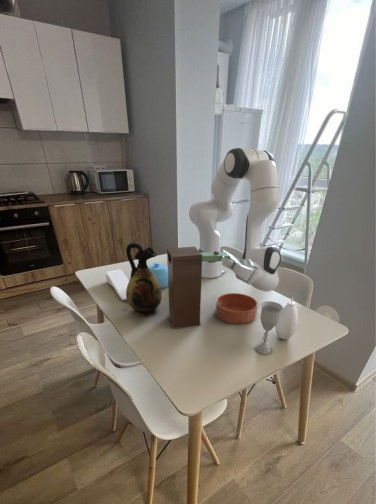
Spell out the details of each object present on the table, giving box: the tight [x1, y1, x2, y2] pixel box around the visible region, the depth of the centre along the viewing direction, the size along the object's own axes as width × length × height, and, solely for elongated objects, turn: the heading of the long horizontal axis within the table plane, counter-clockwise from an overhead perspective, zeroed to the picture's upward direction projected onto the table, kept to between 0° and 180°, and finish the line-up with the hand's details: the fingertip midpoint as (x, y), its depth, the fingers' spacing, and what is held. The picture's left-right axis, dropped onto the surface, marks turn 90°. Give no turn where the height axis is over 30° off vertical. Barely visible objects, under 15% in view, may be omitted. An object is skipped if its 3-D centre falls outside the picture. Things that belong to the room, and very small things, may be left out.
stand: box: [166, 246, 203, 329], centre depth 114 cm, size 10×11×30 cm
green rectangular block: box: [200, 251, 230, 262], centre depth 110 cm, size 4×13×3 cm, turn 105°
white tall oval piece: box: [274, 296, 299, 340], centre depth 107 cm, size 8×8×18 cm
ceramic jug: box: [125, 241, 163, 317], centre depth 121 cm, size 17×15×30 cm
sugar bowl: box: [148, 262, 168, 290], centre depth 150 cm, size 15×15×12 cm
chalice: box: [256, 300, 284, 355], centre depth 101 cm, size 7×7×18 cm
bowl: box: [215, 292, 259, 324], centre depth 126 cm, size 18×18×6 cm
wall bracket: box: [105, 268, 130, 301], centre depth 147 cm, size 10×7×28 cm
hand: (218, 255), depth 110 cm, fingers closed on green rectangular block, 4 cm apart
